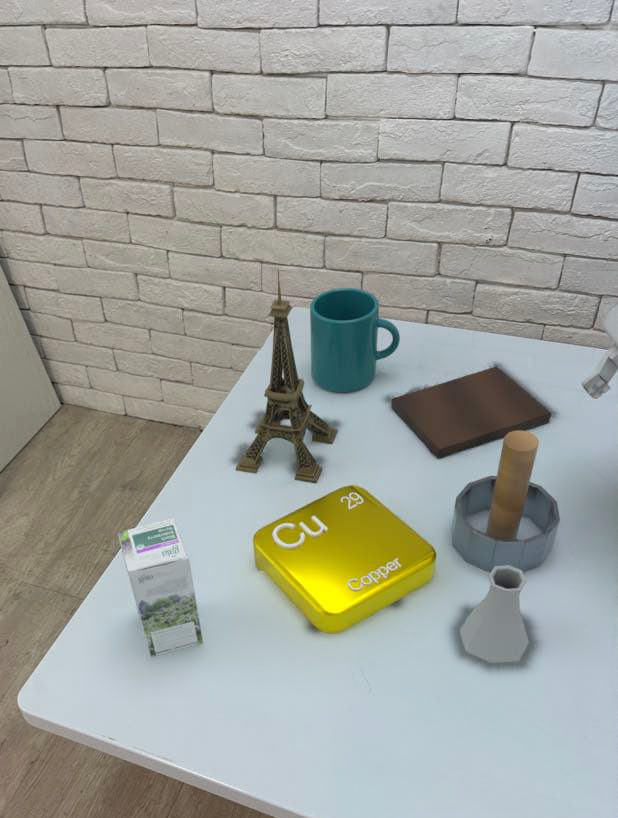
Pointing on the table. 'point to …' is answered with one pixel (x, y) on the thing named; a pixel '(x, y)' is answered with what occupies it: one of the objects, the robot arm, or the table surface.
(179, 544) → the syrup box
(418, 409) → the board
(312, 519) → the element tile
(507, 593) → the flask
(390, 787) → the table surface
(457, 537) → the ring
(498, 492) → the stick
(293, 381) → the eiffel tower
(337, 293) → the cup
